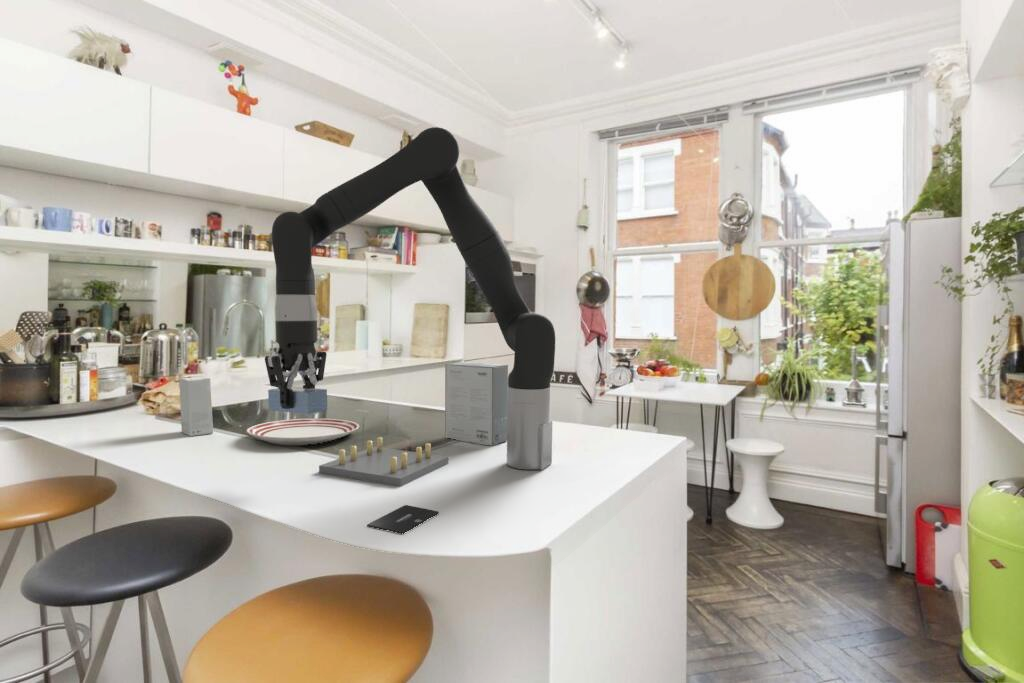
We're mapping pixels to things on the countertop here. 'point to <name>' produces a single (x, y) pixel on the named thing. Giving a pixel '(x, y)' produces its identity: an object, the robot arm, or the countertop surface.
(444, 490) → the countertop surface
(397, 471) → the grey peg board
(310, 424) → the dinner plate
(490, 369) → the hard drive box
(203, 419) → the skincare box
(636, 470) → the countertop surface
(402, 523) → the solid state drive
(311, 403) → the blue block
